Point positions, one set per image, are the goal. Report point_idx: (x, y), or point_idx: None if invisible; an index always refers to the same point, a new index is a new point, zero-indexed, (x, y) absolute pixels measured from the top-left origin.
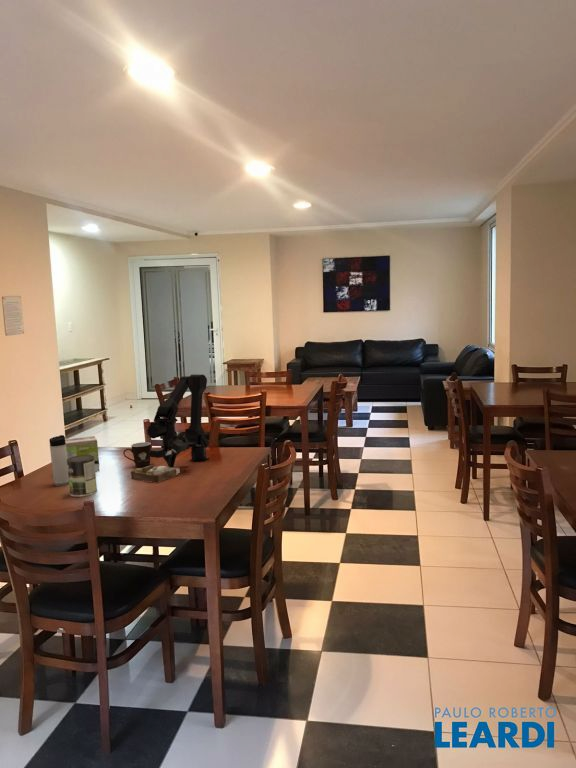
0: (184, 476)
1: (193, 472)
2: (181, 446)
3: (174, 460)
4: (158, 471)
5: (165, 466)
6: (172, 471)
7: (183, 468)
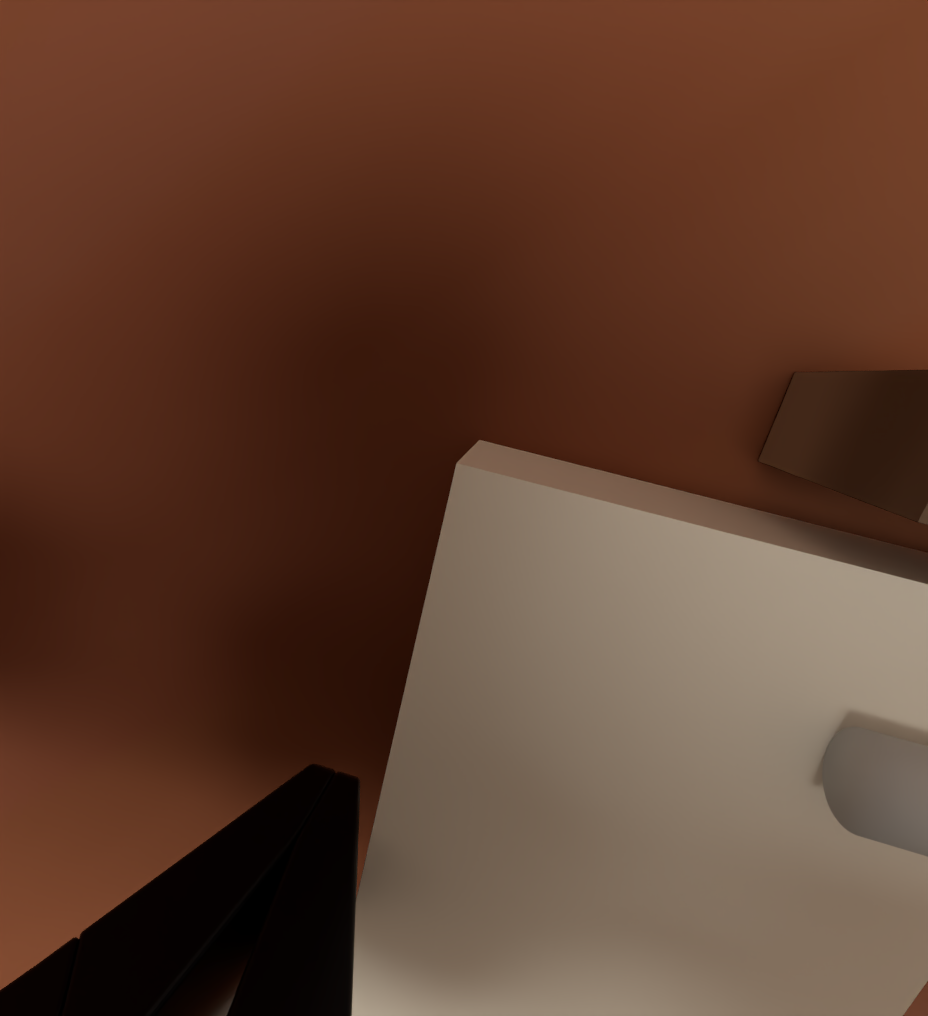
0: (828, 32)
1: (298, 15)
2: None
3: (81, 980)
4: (895, 1008)
5: None
6: None
7: (76, 580)
